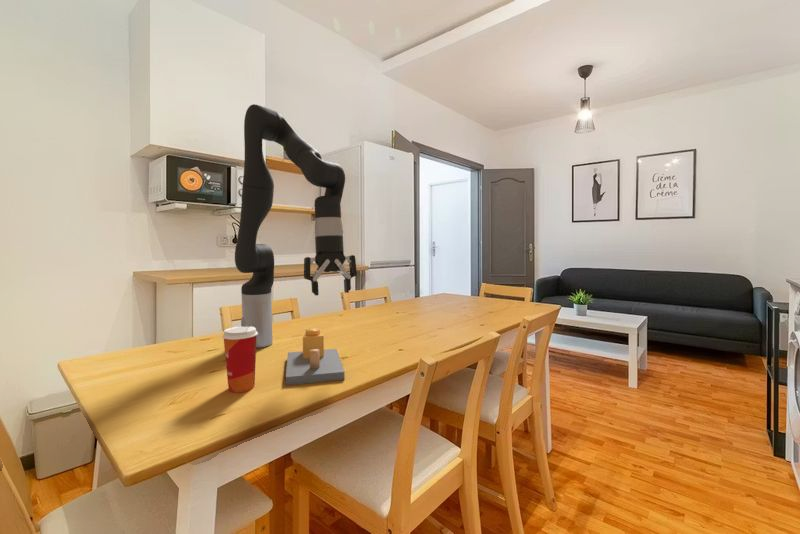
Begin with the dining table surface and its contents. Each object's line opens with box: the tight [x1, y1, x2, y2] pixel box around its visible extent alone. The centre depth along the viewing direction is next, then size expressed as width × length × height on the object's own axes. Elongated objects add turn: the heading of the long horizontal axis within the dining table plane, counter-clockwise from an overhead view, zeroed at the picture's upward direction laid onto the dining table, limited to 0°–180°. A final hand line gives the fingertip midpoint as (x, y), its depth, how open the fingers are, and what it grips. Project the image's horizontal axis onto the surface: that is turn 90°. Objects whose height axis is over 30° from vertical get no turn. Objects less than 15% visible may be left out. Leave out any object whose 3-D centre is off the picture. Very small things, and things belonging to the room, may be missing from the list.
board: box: [285, 348, 346, 386], centre depth 100 cm, size 14×20×6 cm
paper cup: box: [221, 325, 258, 394], centre depth 86 cm, size 8×8×14 cm
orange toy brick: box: [302, 327, 325, 358], centre depth 105 cm, size 6×6×7 cm
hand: (331, 293), depth 102 cm, fingers open, 8 cm apart
